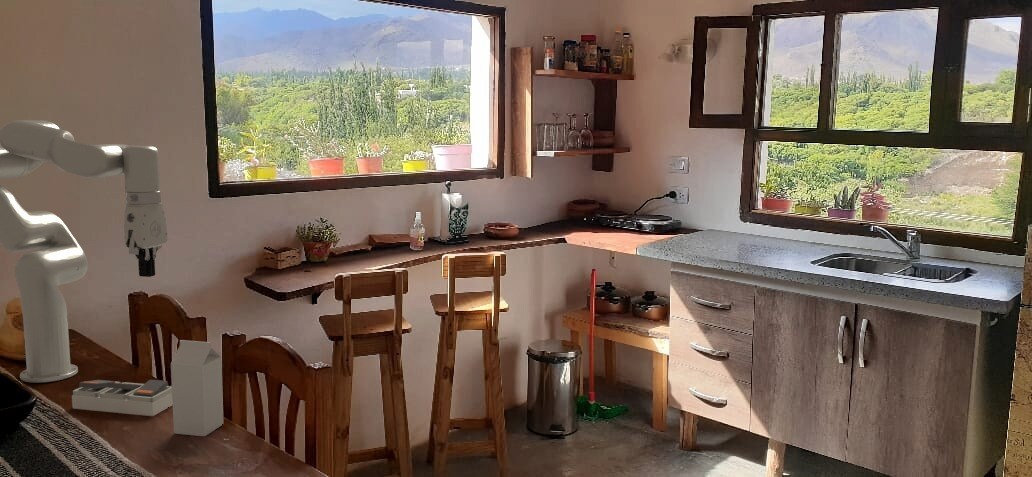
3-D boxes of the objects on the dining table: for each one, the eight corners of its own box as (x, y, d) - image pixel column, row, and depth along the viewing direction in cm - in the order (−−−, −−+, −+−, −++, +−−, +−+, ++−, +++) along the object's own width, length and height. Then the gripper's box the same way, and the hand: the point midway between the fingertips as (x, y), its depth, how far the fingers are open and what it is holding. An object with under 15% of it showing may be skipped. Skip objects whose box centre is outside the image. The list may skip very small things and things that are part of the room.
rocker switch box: (72, 408, 183) (71, 391, 182) (98, 396, 191) (97, 379, 190) (153, 416, 179) (152, 398, 178) (176, 403, 187) (175, 386, 186)
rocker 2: (106, 387, 182) (107, 382, 182) (123, 388, 187) (124, 383, 188) (123, 388, 181) (124, 383, 181) (140, 390, 187) (141, 385, 187)
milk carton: (204, 437, 168) (201, 347, 165) (173, 434, 169) (169, 344, 166) (223, 424, 175) (220, 338, 172) (193, 421, 176) (190, 335, 173)
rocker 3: (134, 397, 181) (133, 392, 180) (150, 383, 186) (149, 379, 186) (152, 398, 180) (151, 394, 179) (168, 384, 185) (167, 380, 185)
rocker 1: (79, 387, 183) (79, 381, 183) (97, 384, 189) (98, 379, 189) (96, 388, 182) (96, 383, 182) (114, 385, 188) (115, 380, 188)
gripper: (136, 202, 184) (141, 283, 187) (176, 196, 198) (180, 271, 201) (107, 201, 185) (111, 281, 188) (149, 195, 200) (152, 269, 203)
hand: (147, 275), depth 195 cm, fingers closed
